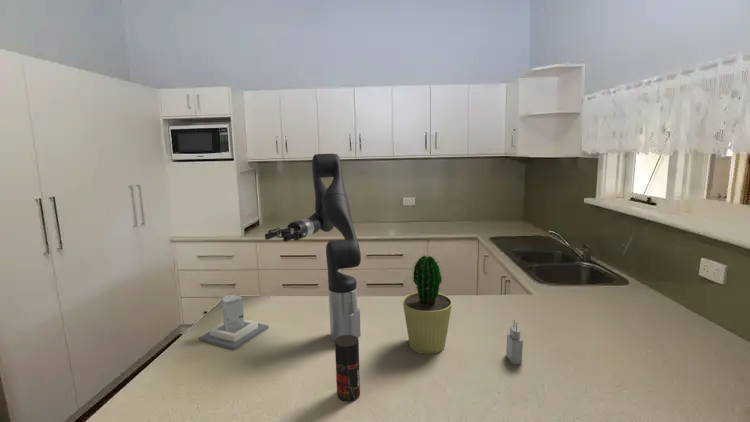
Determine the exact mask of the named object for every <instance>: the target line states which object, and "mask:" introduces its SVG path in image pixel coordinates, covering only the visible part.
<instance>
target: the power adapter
mask: <svg viewBox="0 0 750 422" xmlns="http://www.w3.org/2000/svg"><path fill="white" fill-rule="evenodd" d="M523 345H524V339H523V338H522V336H521V330H520V328H519V327H518V322H516V320H515V319H513V325H510V326H509V331H507V333H506V347H505V348H506V349H505V350H506V351H505V355H506V357H507V358H508V360H509V362H510V363H511V364H513V365H522V363H523V349H524V348H523V347H524V346H523Z"/></svg>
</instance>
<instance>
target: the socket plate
mask: <svg viewBox="0 0 750 422" xmlns="http://www.w3.org/2000/svg"><path fill="white" fill-rule="evenodd" d="M268 329H270V327H269V325H268V324H262V323H260V322H259V321H256V320H255V321H254V320H250V319H245V318H244V328H242V329H241V330H239V331H237V332H235V333H231V332H227V331H224V323H223V322H222V323H220V324H218V325H216V326H215V327H213V328H211V329H209V331H208V332H207V333H204V334H202V335H201V336H199V337H198V341H199V342H204V343H208V344H211V345H216V346H220V347H222V348H226V349H230V350H234V351H236V350H237V349H238V348H240V347H242V346H243V345H246V344H247V343H248V342H250V341H251V340H253V339H254V338H256V337H257V336H259V335H261V334H262V333H264V332H265V331H266V330H268Z"/></svg>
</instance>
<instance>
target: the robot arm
mask: <svg viewBox="0 0 750 422" xmlns="http://www.w3.org/2000/svg"><path fill="white" fill-rule="evenodd" d="M341 161H342V160H341V158H340V156H339V154H336V153H316V154H315V153H314V155H313V157H312V160H311V169H312V171H311V172H312V180H313V188H314V196H315V197H314V198H315V201H314V210H315V211H314V213H313V214H312V215H310V216H309V217H306V218H301V219H298V220H295V221H292V222H290V223H289V224H288V225H287V226H286V227H284V228H281V227H276V228H273V229H269V230H268V231H267V232H268V233H265V235H264V238H265V240H266V241H268V240H270V239H275V238H277V239H282V240H283V242H285V243H286V242H289V241H299V240H302V239H305V238H306V237H309V236H311V235H313V234H316V233H317V232H319V231H320V230H321V231H323V232H324V233H329V232H331V231H332V230H333V229H334V228H336V229H337V231H338V232H340V233H341V234H342V237H343V238H344V239H340V240H338V239H337V240H329V241H328V242H327V243H326V246H325V255H326V267H327V279H328V280H327V281H328V282H327V283H328V303H329V304H328V306H329V311H328V312H329V328H330V329H329V330H330V331H329V332H330V339H331V341H333V342H334V343H335V339H336V338H338V337H340V336H343V335H353V336H356V337H357V338H358V339H359V338H360V336H361V309H360V308H358V289H357V287H358V286H357V285H358V283H357V279H356V277H354V276H352V275H348V274H345V273H341V272H340V271H339V270H341V269H343V270H344V269H345V270H346V269H353V268H357V267H359V266H360V264H361V261H362V255H361V248H360V244H359V241H358V237H357V235H356V232H355V228H354V224H353V220H352V215H351V209H350V204H349V199H348V194H347V191H346V187H345V183H344V177H343V176H344V175H343V170H342V163H341ZM321 178H333V179H332V181H331V183H330V184H329V186H328V187H326V185H324V183H323V181H322V179H321Z"/></svg>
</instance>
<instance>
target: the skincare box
mask: <svg viewBox="0 0 750 422" xmlns="http://www.w3.org/2000/svg"><path fill="white" fill-rule="evenodd" d="M221 308H222V320H223V322H222V323H224V331H227V332H231V333H235V332H237V331H239V330H241V329H242V328H244V319H245V317H244V302H243V297H242V295H240V294H235V295H228V296H226V297H221Z"/></svg>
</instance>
